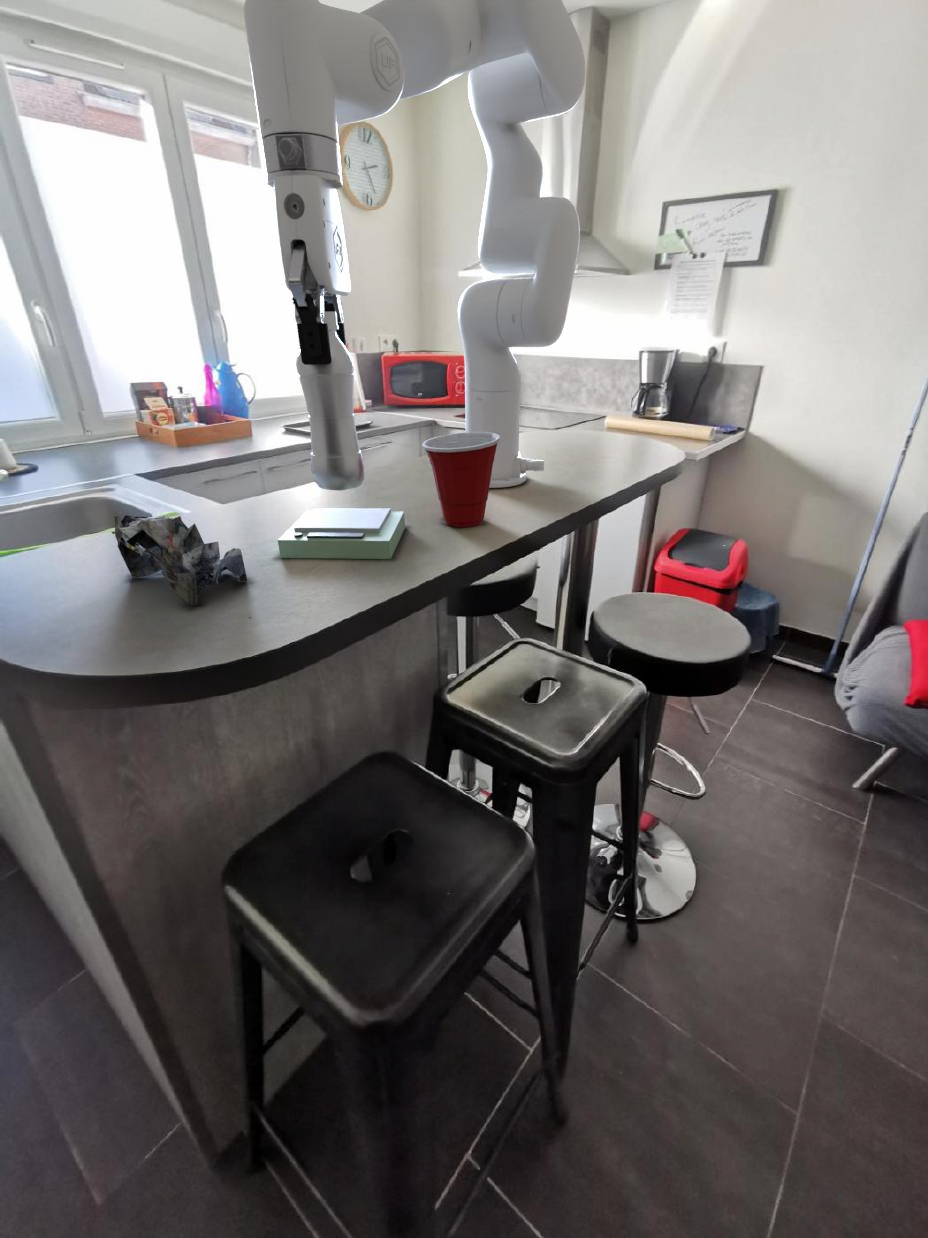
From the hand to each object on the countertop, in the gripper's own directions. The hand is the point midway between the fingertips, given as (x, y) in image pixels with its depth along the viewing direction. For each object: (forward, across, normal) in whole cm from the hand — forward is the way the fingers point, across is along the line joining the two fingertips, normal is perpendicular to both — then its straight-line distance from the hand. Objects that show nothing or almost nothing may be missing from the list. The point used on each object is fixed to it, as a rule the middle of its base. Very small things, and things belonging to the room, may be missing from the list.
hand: (325, 360), depth 65 cm
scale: (+22, 0, 0) cm, 22 cm away
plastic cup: (+22, +9, -15) cm, 28 cm away
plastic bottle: (+15, 0, 0) cm, 15 cm away
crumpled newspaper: (+22, -14, +15) cm, 30 cm away
